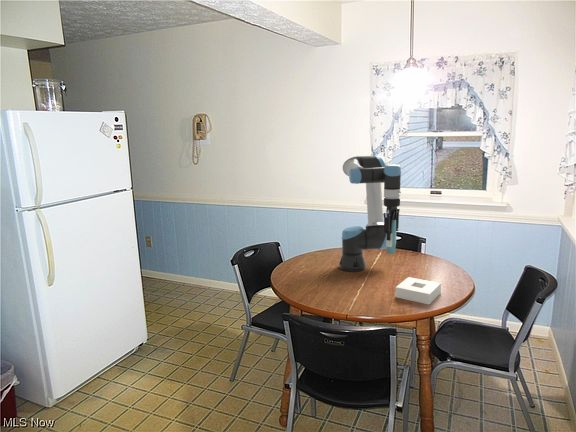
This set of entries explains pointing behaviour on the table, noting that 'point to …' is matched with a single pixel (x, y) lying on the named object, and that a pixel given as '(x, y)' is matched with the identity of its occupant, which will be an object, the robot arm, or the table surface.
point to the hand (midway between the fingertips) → (391, 245)
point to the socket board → (418, 290)
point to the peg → (392, 249)
